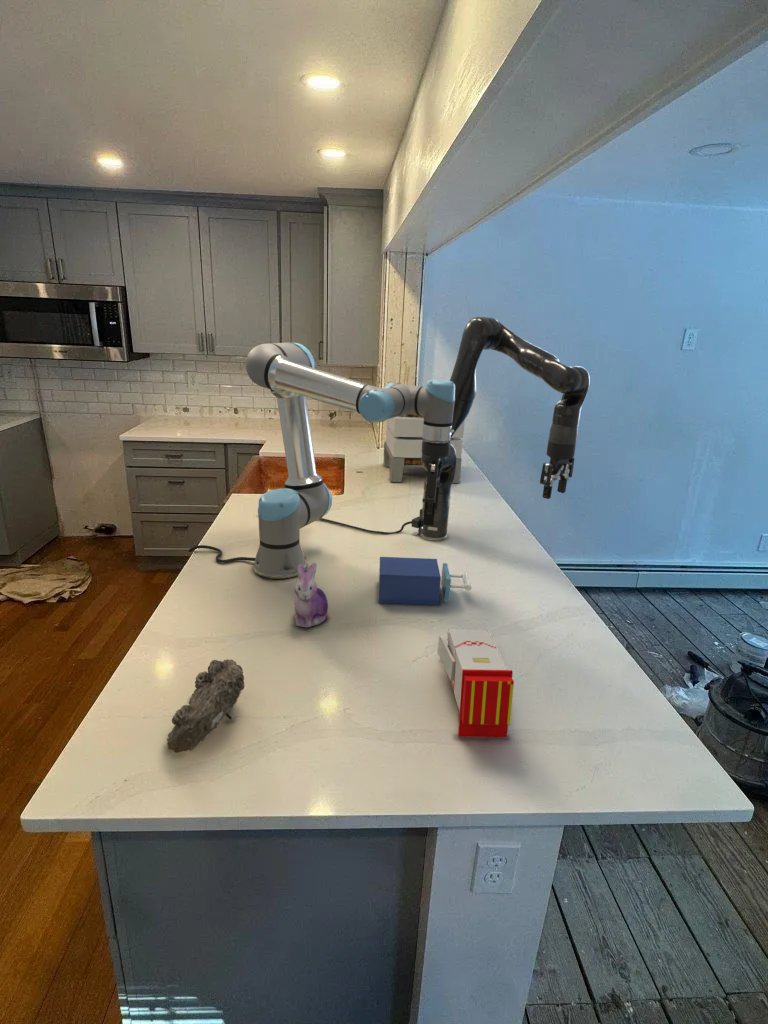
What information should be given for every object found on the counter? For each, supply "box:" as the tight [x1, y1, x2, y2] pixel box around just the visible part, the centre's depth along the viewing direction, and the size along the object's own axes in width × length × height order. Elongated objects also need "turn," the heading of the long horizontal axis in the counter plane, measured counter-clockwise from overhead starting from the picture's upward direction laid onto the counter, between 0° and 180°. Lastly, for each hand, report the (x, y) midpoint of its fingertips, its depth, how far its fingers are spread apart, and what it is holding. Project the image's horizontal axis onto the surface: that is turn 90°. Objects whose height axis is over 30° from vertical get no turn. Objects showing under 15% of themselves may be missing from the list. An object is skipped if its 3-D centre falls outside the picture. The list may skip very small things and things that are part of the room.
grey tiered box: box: [383, 414, 466, 484], centre depth 268 cm, size 34×33×41 cm
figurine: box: [293, 562, 329, 628], centre depth 140 cm, size 9×10×15 cm
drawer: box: [439, 562, 472, 602], centre depth 157 cm, size 21×10×7 cm, turn 90°
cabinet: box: [378, 556, 442, 606], centre depth 157 cm, size 16×11×8 cm
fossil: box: [166, 658, 245, 754], centre depth 106 cm, size 22×10×15 cm
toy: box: [437, 628, 515, 738], centre depth 117 cm, size 12×13×30 cm
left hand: (430, 516), depth 156 cm, fingers open, 13 cm apart
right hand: (553, 495), depth 164 cm, fingers open, 8 cm apart
